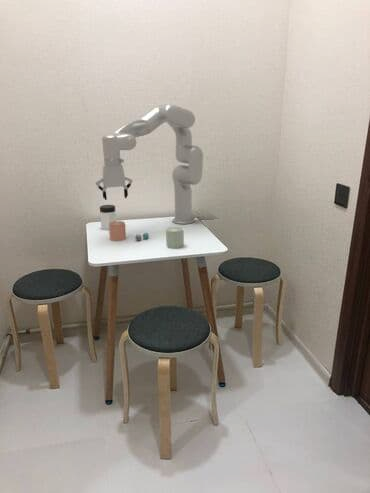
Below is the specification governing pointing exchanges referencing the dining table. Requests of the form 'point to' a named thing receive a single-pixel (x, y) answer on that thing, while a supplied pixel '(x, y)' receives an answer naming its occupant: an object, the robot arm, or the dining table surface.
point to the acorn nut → (174, 237)
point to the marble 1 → (138, 237)
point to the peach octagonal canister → (117, 230)
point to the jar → (107, 215)
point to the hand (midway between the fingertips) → (115, 198)
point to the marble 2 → (145, 235)
